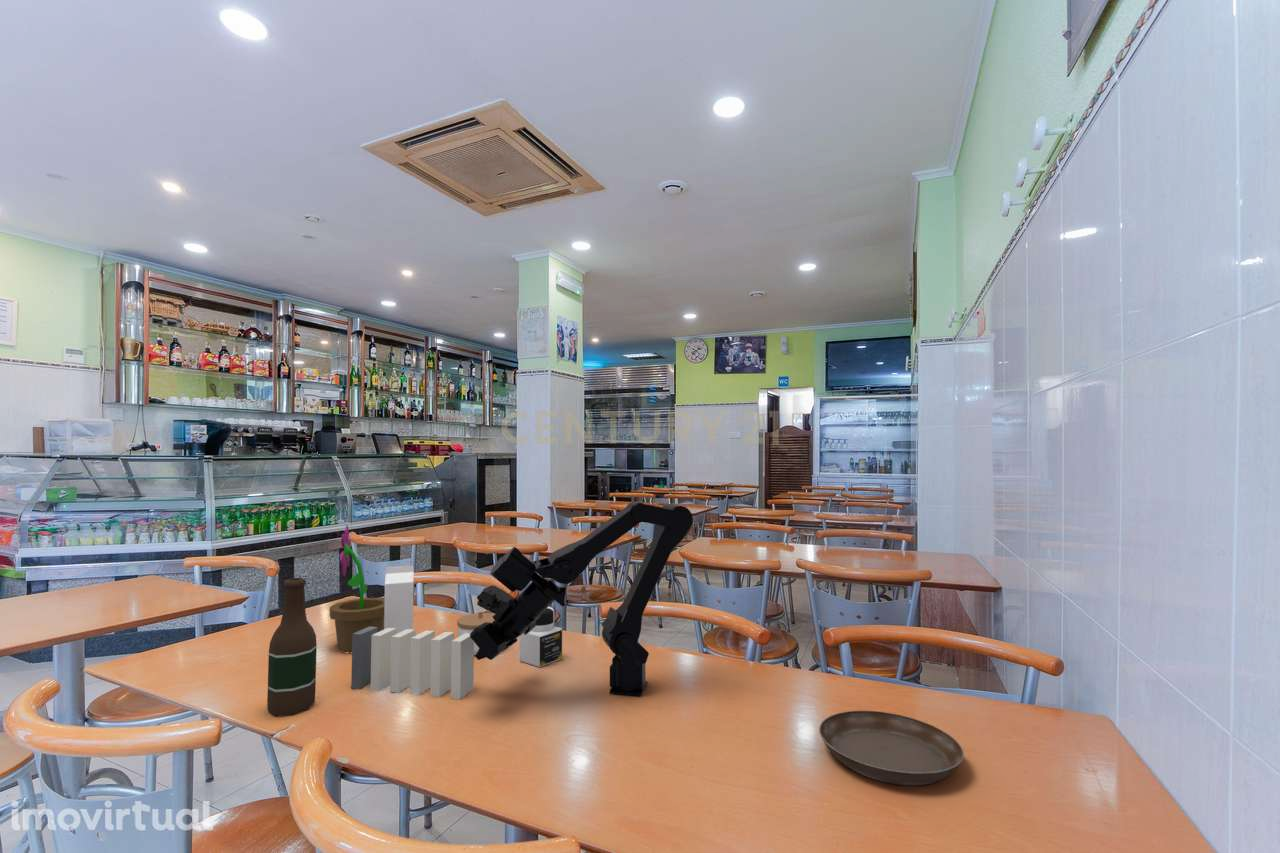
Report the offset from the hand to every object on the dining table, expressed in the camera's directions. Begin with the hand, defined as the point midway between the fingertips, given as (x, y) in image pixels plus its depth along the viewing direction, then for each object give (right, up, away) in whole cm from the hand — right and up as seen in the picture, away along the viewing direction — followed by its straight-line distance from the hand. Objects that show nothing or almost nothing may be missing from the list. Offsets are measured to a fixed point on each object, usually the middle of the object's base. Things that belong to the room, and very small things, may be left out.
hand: (477, 657), depth 115 cm
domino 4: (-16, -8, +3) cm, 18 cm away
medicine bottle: (+9, -8, +19) cm, 23 cm away
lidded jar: (-7, -9, +26) cm, 28 cm away
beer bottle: (-33, -7, -6) cm, 35 cm away
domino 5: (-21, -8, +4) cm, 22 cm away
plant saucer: (+71, -6, -25) cm, 76 cm away
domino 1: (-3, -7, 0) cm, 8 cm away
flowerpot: (-38, -9, +30) cm, 49 cm away
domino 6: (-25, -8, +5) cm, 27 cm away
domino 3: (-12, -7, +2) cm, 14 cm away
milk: (-23, -8, +17) cm, 30 cm away
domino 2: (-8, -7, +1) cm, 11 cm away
